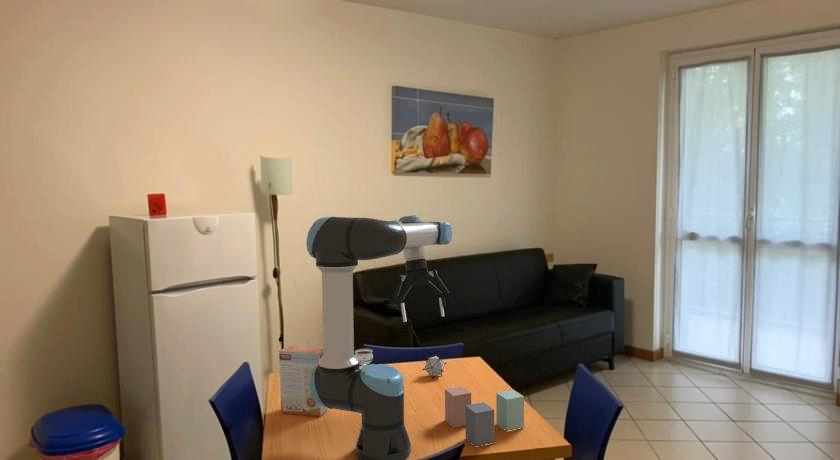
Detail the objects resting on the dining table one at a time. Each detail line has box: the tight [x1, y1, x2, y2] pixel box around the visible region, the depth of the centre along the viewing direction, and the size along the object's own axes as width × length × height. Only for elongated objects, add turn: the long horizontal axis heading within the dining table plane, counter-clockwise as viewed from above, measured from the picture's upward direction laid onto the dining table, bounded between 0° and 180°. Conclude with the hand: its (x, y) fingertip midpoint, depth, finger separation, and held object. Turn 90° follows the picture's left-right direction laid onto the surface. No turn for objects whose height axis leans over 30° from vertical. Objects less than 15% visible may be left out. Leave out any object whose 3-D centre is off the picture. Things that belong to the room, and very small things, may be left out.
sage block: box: [495, 389, 525, 432], centre depth 173 cm, size 6×6×10 cm
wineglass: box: [354, 348, 374, 368], centre depth 211 cm, size 7×7×12 cm
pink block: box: [444, 385, 472, 429], centre depth 177 cm, size 6×6×10 cm
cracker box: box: [278, 345, 328, 417], centre depth 185 cm, size 14×6×21 cm, turn 74°
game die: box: [422, 353, 448, 380], centre depth 218 cm, size 9×8×10 cm
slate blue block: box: [465, 401, 495, 448], centre depth 164 cm, size 6×6×10 cm
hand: (424, 319), depth 202 cm, fingers open, 13 cm apart
